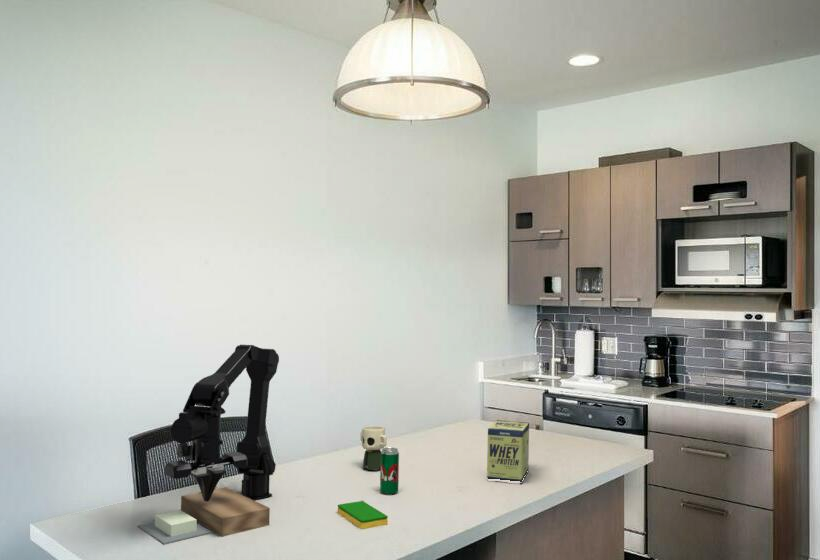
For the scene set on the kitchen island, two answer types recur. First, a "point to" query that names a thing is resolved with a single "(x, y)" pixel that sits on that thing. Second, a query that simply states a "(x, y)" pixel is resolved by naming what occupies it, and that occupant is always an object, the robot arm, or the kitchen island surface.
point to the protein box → (508, 450)
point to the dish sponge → (362, 514)
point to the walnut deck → (226, 511)
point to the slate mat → (166, 539)
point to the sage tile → (175, 523)
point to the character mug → (373, 445)
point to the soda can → (389, 470)
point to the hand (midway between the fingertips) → (206, 500)
